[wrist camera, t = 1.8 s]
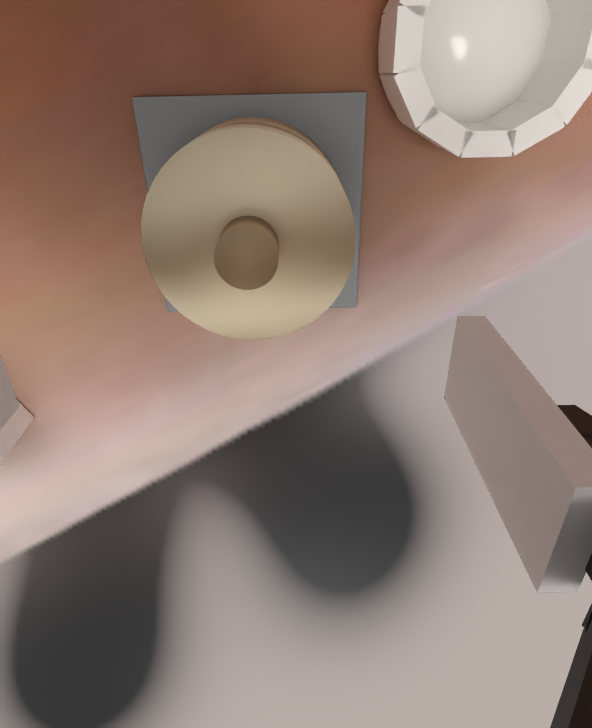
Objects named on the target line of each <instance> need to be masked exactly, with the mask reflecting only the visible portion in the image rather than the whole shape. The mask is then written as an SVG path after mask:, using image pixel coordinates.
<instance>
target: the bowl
mask: <svg viewBox="0 0 592 728" xmlns="http://www.w3.org/2000/svg"><path fill="white" fill-rule="evenodd" d="M383 13H384V14H383V15H382V18H381V26H380V31H379V39H378V66H379V70H378V73H379V74H380V75H379V77H380V79H381V83H382V86H383V89H384V92H385V94H386V97H387V99H388V101H389V103H390V105H391V106H392V108H393V109H394V111H395V113H396V115H397V118H398V120H399V121H401V123H402V124H404V125H405V126H407V127H409V128H410V129H412V130H413V131H415V132H416V133H418V134H419V135H421V136H422V137H424V138H425V139H427V140H428V141H430V142H431V143H433V144H435V145H436V146H438V147H440V148H442V149H444V150H446V151H448V152H450V153H452V154H454V155H456V156H458V157H461V158H470V157H512V155H514V156H515V155H517V154H518V153H520V152H522V151H524V150H525V149H527V148H529V147H530V146H532V145H534V144H536V143H537V142H539V141H541V140H543V139H544V138H546V137H548V136H550V135H551V134H553V133H555V132H557V131H558V130H560V129H562V128H564V124H568V123H569V121H570V120H571V119H572V117H573V116H574V115H575V113H576V112H577V111H578V109H579V108H580V107H581V105H582V104H583V103H584V101H585V100H586V99H587V97H588V96H589V95H590V93H591V92H592V0H388V2H387V5H386V7H385V9H384V10H383Z"/></svg>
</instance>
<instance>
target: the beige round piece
mask: <svg viewBox="0 0 592 728" xmlns="http://www.w3.org/2000/svg"><path fill="white" fill-rule="evenodd" d="M141 238H142V247H143V252H144V256H145V260H146V263H147V265H148V268H149V271H150V273H151V275H152V277H153V279H154V281H155V283H156V285H157V286H158V288H159V289H160V291H161V292H162V294H163V295H164V296H165V298H166V299H167V300H168V301H169V302H170V303H171V304H172V305H173V307H174V308H176V309H177V310H178V311H179V312H180V313H181V314H182V315H184V316H185V317H186V318H188V319H189V320H191V321H192V322H194V323H195V324H197V325H199V326H201V327H202V328H204V329H206V330H209V331H211V332H214V333H216V334H219V335H223V336H226V337H230V338H236V339H243V340H261V339H270V338H275V337H280V336H283V335H286V334H289V333H292V332H295V331H297V330H299V329H301V328H303V327H305V326H306V325H308V324H310V323H311V322H313V321H314V320H316V319H317V318H318V317H319V316H320V315H322V314H323V313H324V312H325V311H326V310H327V309H328V308H329V307H330V306H331V305H332V304H333V302H334V301H335V300H336V298H337V297H338V295H339V294H340V292H341V291H342V289H343V287H344V285H345V283H346V281H347V279H348V276H349V274H350V271H351V268H352V264H353V260H354V254H355V245H356V233H355V224H354V217H353V213H352V210H351V206H350V203H349V200H348V198H347V196H346V194H345V191H344V189H343V187H342V185H341V183H340V181H339V178H338V176H337V174H336V172H335V170H334V168H333V166H332V164H331V162H330V161H329V159H328V157H327V156H326V154H325V153H324V152H323V151H322V150H321V148H320V147H319V146H318V145H317V144H316V143H315V142H314V141H313V140H312V139H311V138H310V137H308V136H307V135H306V134H304V133H303V132H301V131H300V130H298V129H296V128H294V127H293V126H291V125H289V124H286V123H284V122H281V121H278V120H275V119H269V118H264V117H241V118H235V119H231V120H227V121H224V122H222V123H220V124H217V125H215V126H213V127H211V128H210V129H208V130H206V131H205V132H203V133H202V134H200V135H199V136H198V137H196V138H195V139H194V140H192V141H191V142H189V143H188V144H187V145H185V146H184V147H183V148H181V149H180V150H179V151H178V152H176V153H175V154H174V155H173V156H172V157H171V158H170V159H169V160H168V161H167V162H166V163H165V164H164V166H163V167H162V168H161V169H160V171H159V172H158V174H157V175H156V177H155V179H154V180H153V182H152V184H151V187H150V189H149V191H148V193H147V196H146V200H145V203H144V206H143V213H142V219H141Z"/></svg>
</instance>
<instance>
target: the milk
mask: <svg viewBox="0 0 592 728" xmlns="http://www.w3.org/2000/svg"><path fill="white" fill-rule="evenodd" d="M17 401H18V400H17ZM18 404H19V408H18V409H17V410H16V412H15V413H14V414H13V415H12V416H11V418H10V419H9V420H8V421H7V423H6V424H5V425H4V426H3V427H2V429H1V430H0V464H1V463H2V462H3V460H4V459H5V458H6V456H7V455H8V453H9V452H10V451H11V449H12V448H13V447H14V445H15V444H16V442H17V441H18V440H19V438H20V437H21V436H22V434H23V433H24V432H25V430H26V429H27V427H28V426H29V425H30V423H31V422H32V421H33V419H34V416H33V415H32V414H31V413H30V412H29V411H28V410H27V409H26V408H25V407H24V406H23V405H22V404H21V403H20V402H19V401H18Z"/></svg>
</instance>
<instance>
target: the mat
mask: <svg viewBox="0 0 592 728" xmlns="http://www.w3.org/2000/svg"><path fill="white" fill-rule="evenodd" d="M366 94H367V92H337V93H292V94H247V95H202V96H158V97H132V101H133V107H134V113H135V119H136V125H137V131H138V137H139V143H140V149H141V155H142V160H143V166H144V172H145V178H146V184H147V190H148V191H149V189H150V187H151V184H152V182H153V180H154V179H155V177H156V175H157V174H158V172H159V171H160V169H161V168H162V167H163V166H164V164H165V163H166V162H167V161H168V160H169V159H170V158H171V157H172V156H173V155H174V154H175V153H176V152H178V151H179V150H180V149H181V148H183V147H184V146H185V145H187V144H188V143H189V142H191V141H192V140H194V139H195V138H196V137H198V136H199V135H200V134H202V133H203V132H205V131H206V130H208V129H210V128H211V127H213V126H215V125H217V124H220V123H222V122H224V121H227V120H231V119H235V118H241V117H264V118H269V119H275V120H278V121H281V122H284V123H286V124H289V125H291V126H293V127H294V128H296V129H298V130H300V131H301V132H303V133H304V134H306V135H307V136H308V137H310V138H311V139H312V140H313V141H314V142H315V143H316V144H317V145H318V146H319V147H320V148H321V150H322V151H323V152H324V153H325V154H326V156H327V157H328V159H329V161H330V162H331V164H332V166H333V168H334V170H335V172H336V174H337V176H338V178H339V181H340V183H341V185H342V187H343V189H344V191H345V194H346V196H347V198H348V200H349V203H350V206H351V210H352V213H353V217H354V224H355V233H356V245H355V254H354V260H353V264H352V268H351V271H350V274H349V276H348V279H347V281H346V283H345V285H344V287H343V289H342V291H341V292H340V294H339V295H338V297H337V298H336V300H335V301H334V302H333V304H332V305H331V306H330V307H329V308H351V307H356V303H357V282H358V261H359V240H360V219H361V199H362V178H363V157H364V136H365V115H366ZM166 304H167V310H168V312H177V311H178V310H177V309H176V308H174V307H173V305H172V304H171V303H170V302H169V301H168V300H167V299H166Z"/></svg>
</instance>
